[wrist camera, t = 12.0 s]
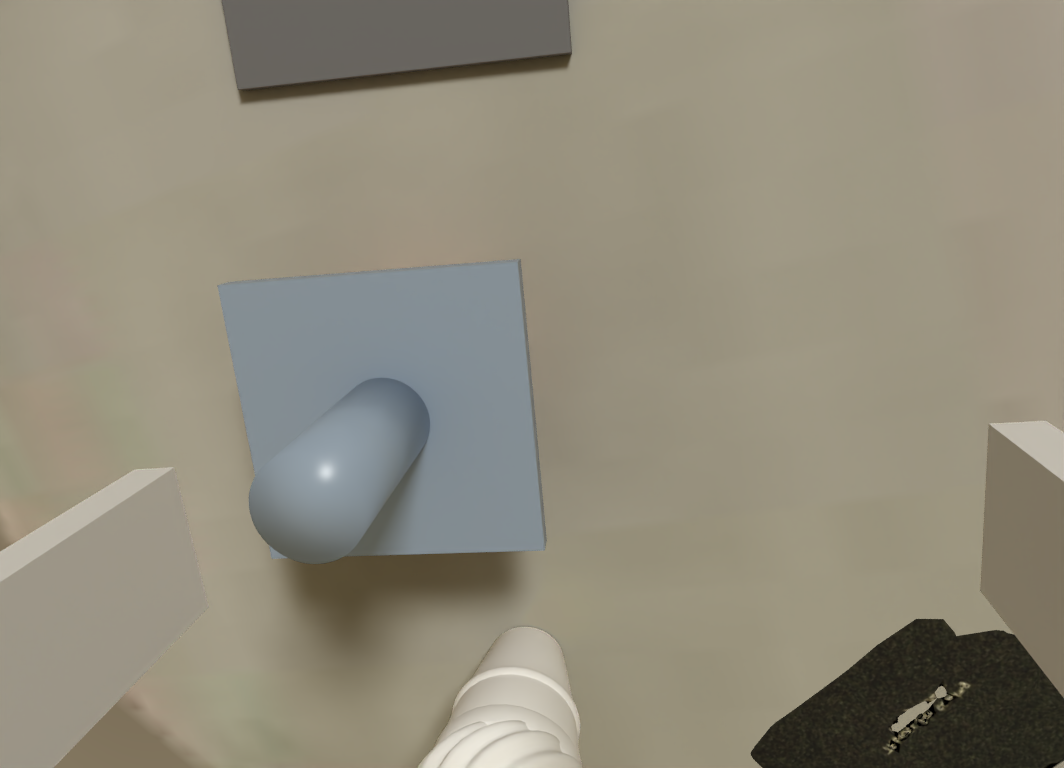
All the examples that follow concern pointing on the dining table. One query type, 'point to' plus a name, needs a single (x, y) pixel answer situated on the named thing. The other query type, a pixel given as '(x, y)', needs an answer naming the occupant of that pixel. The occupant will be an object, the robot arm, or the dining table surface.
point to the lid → (388, 411)
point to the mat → (385, 36)
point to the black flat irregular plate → (954, 724)
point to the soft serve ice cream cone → (513, 710)
